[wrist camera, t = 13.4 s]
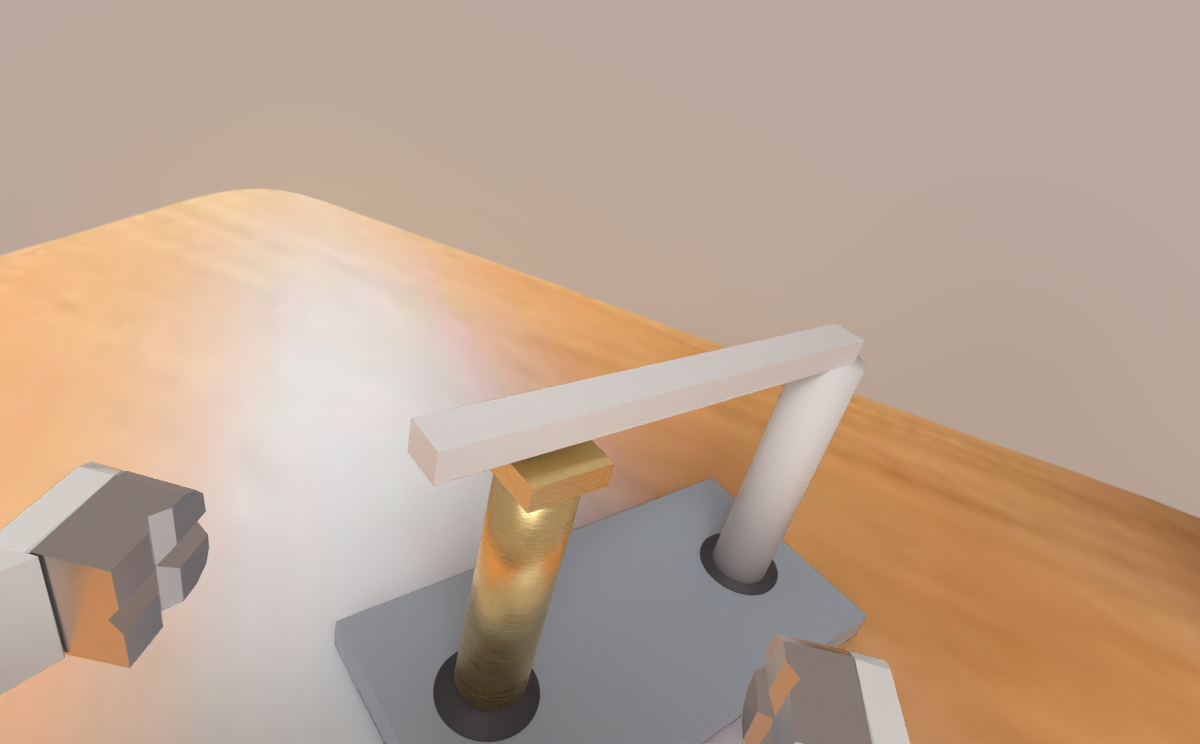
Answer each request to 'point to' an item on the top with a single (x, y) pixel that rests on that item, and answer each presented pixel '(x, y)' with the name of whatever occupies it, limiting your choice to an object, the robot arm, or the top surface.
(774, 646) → the robot arm
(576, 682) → the bolt plate
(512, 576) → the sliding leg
